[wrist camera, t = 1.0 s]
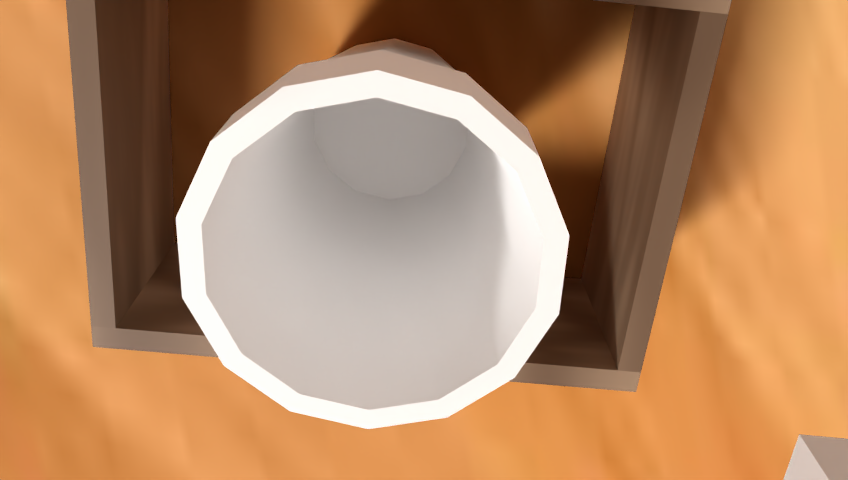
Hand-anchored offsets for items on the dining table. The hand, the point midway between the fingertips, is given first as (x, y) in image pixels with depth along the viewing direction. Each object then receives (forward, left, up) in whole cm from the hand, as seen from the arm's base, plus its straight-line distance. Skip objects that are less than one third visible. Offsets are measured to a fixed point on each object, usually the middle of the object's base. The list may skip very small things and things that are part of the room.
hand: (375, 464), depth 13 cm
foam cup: (0, 0, -20) cm, 20 cm away
